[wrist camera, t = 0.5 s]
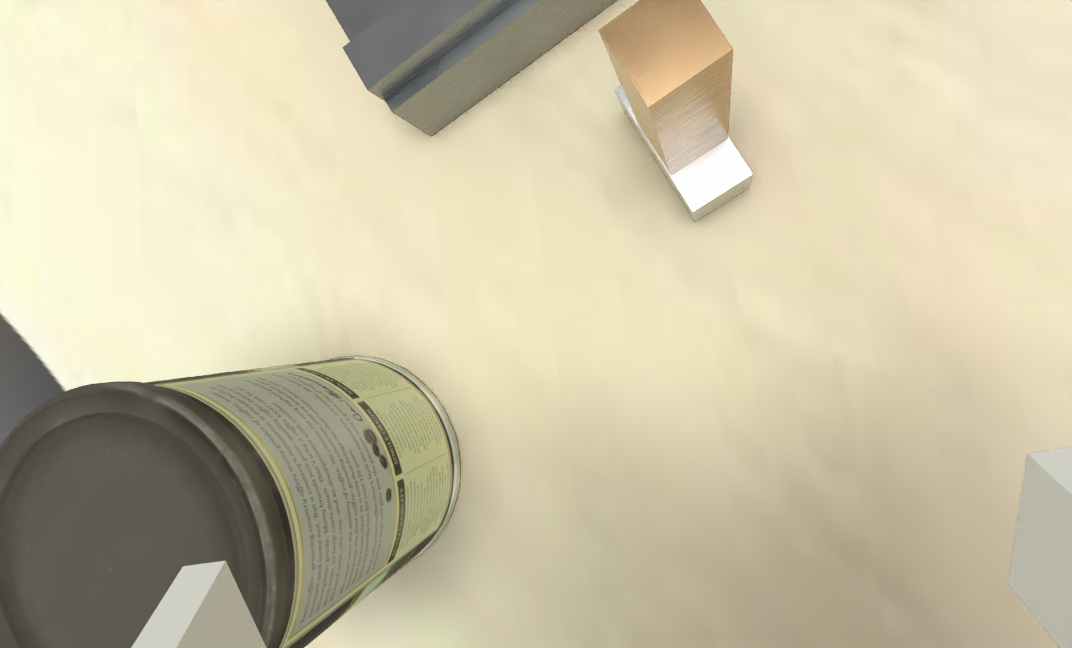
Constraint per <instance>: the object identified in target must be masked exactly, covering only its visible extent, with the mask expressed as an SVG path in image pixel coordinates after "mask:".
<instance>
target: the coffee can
mask: <svg viewBox="0 0 1072 648" xmlns="http://www.w3.org/2000/svg"><path fill="white" fill-rule="evenodd" d="M459 484H460V457H459V449H458V443H457V438H456V435H455V432H454V430H453V427H452V425H451V423H450V421H449V418H448V416H447V414H446V412H445V410H444V408H443V407H442V405H441V404H440V402H439V401H438V400H437V398H436V397H435V395H434V394H433V393H432V392H431V391H430V390H429V389H428V388H427V387H426V386H425V385H424V384H423V383H422V382H421V381H420V380H419V379H418V378H416V377H415V376H413V375H412V374H410V373H409V372H408V371H407V370H405V369H404V368H402V367H400V366H397V365H394V364H392V363H390V362H388V361H385V360H381V359H378V358H374V357H367V356H345V357H339V358H335V359H330V360H327V361H319V362H310V363H303V364H294V365H284V366H276V367H268V368H258V369H251V370H242V371H235V372H225V373H218V374H211V375H203V376H195V377H186V378H178V379H170V380H163V381H154V382H147V383H141V382H108V383H98V384H90V385H85V386H81V387H78V388H74V389H71V390H68V391H66V392H63V393H61V394H59V395H56V396H55V397H53V398H51V399H50V400H48V401H46V402H44V403H43V404H41V405H40V406H38V407H37V408H35V409H34V410H33V411H31V412H30V413H29V414H27V415H26V416H25V417H24V418H23V419H22V420H21V421H20V422H19V423H18V425H16V426H15V427H14V429H13V430H12V431H11V432H10V434H9V435H8V436H7V438H6V439H5V440H4V441H3V443H2V444H1V446H0V648H131V647H132V646H133V644H134V643H135V641H136V639H137V638H138V636H139V635H140V633H141V632H142V630H143V628H144V627H145V625H146V624H147V622H148V621H149V619H150V617H151V616H152V614H153V613H154V611H155V610H156V608H157V606H158V605H159V603H160V602H161V600H162V599H163V597H164V595H165V594H166V592H167V591H168V589H169V588H170V586H171V584H172V583H173V581H174V580H175V578H176V577H177V575H178V573H179V572H180V570H181V569H182V567H183V566H189V565H196V564H204V563H211V562H219V561H226V562H227V565H228V567H229V569H230V571H231V573H232V575H233V577H234V580H235V582H236V584H237V586H238V588H239V590H240V592H241V595H242V597H243V599H244V601H245V603H246V605H247V607H248V610H249V612H250V614H251V616H252V618H253V620H254V622H255V624H256V627H257V629H258V631H259V633H260V635H261V637H262V639H263V642H264V644H265V646H266V648H304V647H305V646H307V645H308V644H309V643H310V642H312V641H313V640H314V639H315V638H316V637H318V636H319V635H320V634H321V633H322V632H324V631H325V630H326V629H327V628H328V627H330V626H331V625H332V624H333V623H334V622H335V621H337V620H338V619H339V618H340V617H341V616H343V615H344V614H345V613H346V612H348V611H349V610H350V609H351V608H352V607H354V606H355V605H356V604H357V603H359V602H360V601H361V600H362V599H364V598H365V597H366V596H367V595H368V594H370V593H371V592H372V591H373V590H374V589H376V588H377V587H378V586H380V585H381V584H382V583H383V582H385V581H386V580H387V579H388V578H389V577H391V576H392V575H393V574H395V573H396V572H397V571H398V570H399V569H401V568H402V567H403V566H404V565H405V564H407V563H408V562H409V561H411V560H413V559H414V558H416V557H417V556H419V555H420V554H421V553H422V552H424V551H425V550H426V549H427V548H428V547H429V546H430V545H431V544H432V543H433V542H434V541H435V540H436V539H437V537H438V536H439V535H440V533H441V532H442V531H443V529H444V527H445V526H446V525H447V523H448V521H449V519H450V517H451V515H452V512H453V509H454V506H455V503H456V499H457V496H458V490H459Z"/></svg>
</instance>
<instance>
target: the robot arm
mask: <svg viewBox="0 0 1072 648" xmlns="http://www.w3.org/2000/svg"><path fill="white" fill-rule="evenodd" d="M1008 585H1009V586H1010V588H1011V589H1012V590H1013V591H1014V593H1015V594H1016V595H1017V596H1018V598H1019V599H1020V600H1021V601H1022V603H1023V604H1024V605H1025V606H1026V607H1027V609H1028V610H1029V611H1030V612H1031V614H1032V615H1033V616H1034V617H1035V619H1036V620H1037V621H1038V622H1039V624H1040V625H1041V626H1042V627H1043V629H1044V630H1045V631H1046V632H1047V633H1048V635H1049V636H1050V637H1051V638H1052V640H1053V641H1054V642H1055V643H1056V645H1057V646H1058V647H1059V648H1072V447H1069V448H1062V449H1055V450H1047V451H1040V452H1032V453H1027V456H1026V463H1025V470H1024V477H1023V484H1022V491H1021V498H1020V505H1019V512H1018V519H1017V526H1016V533H1015V540H1014V547H1013V554H1012V561H1011V568H1010V575H1009V582H1008ZM131 648H266V646H265V644H264V642H263V639H262V637H261V635H260V633H259V631H258V629H257V627H256V624H255V622H254V620H253V618H252V616H251V614H250V612H249V610H248V607H247V605H246V603H245V601H244V599H243V597H242V595H241V592H240V590H239V588H238V586H237V584H236V582H235V580H234V577H233V575H232V573H231V571H230V569H229V567H228V565H227V562H226V561H219V562H211V563H204V564H196V565H189V566H183V567H182V569H181V570H180V572H179V573H178V575H177V577H176V578H175V580H174V581H173V583H172V584H171V586H170V588H169V589H168V591H167V592H166V594H165V595H164V597H163V599H162V600H161V602H160V603H159V605H158V606H157V608H156V610H155V611H154V613H153V614H152V616H151V617H150V619H149V621H148V622H147V624H146V625H145V627H144V628H143V630H142V632H141V633H140V635H139V636H138V638H137V639H136V641H135V643H134V644H133V646H132V647H131Z"/></svg>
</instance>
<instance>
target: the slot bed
mask: <svg viewBox="0 0 1072 648" xmlns="http://www.w3.org/2000/svg"><path fill="white" fill-rule="evenodd" d="M326 1H327V3H328V5H329V6H330V8H331V10H332V11H333V13H334V15H335V16H336V18H337V20H338V22H339V23H340V25H341V27H342V28H343V30H344V32H345V33H346V35H347V37H348V38H349V40H350V42H349V43H348V44H347V45H345V46H344V47H343V49H344V51H345V52H346V54H347V56H348V58H349V59H350V61H351V63H352V64H353V66H354V68H355V69H356V71H357V73H358V75H359V76H360V78H361V80H362V81H363V83H364V85H365V86H366V88H367V90H368V91H370V92H371V93H373V94H375V95H376V96H378V97H379V98H381V99H382V100H384V101H386V103H387V104H388V106H389V108H390V110H391V111H392V112H393V113H395V114H396V115H398V116H399V117H401V118H403V119H404V120H406V121H407V122H409V123H411V124H412V125H414V126H416V127H417V128H419V129H420V130H422V131H424V132H425V133H427V134H429V135H430V136H433V135H434V134H435V133H437V132H438V131H440V130H441V129H442V128H444V127H445V126H446V125H448V124H449V123H450V122H452V121H453V120H455V119H456V118H457V117H459V116H460V115H461V114H463V113H464V112H465V111H467V110H468V109H469V108H471V107H472V106H474V105H475V104H476V103H478V102H479V101H480V100H482V99H483V98H484V97H486V96H487V95H489V94H490V93H491V92H493V91H494V90H495V89H497V88H498V87H499V86H501V85H502V84H503V83H505V82H506V81H508V80H509V79H510V78H512V77H513V76H514V75H516V74H517V73H518V72H520V71H521V70H523V69H524V68H525V67H527V66H528V65H529V64H531V63H532V62H533V61H535V60H536V59H537V58H539V57H540V56H542V55H543V54H544V53H546V52H547V51H548V50H550V49H551V48H552V47H554V46H555V45H557V44H558V43H559V42H561V41H562V40H563V39H565V38H566V37H567V36H569V35H570V34H572V33H573V32H574V31H576V30H577V29H578V28H580V27H581V26H582V25H584V24H585V23H586V22H588V21H589V20H591V19H592V18H593V17H595V16H596V15H597V14H599V13H600V12H601V11H603V10H604V9H606V8H607V7H608V6H610V5H611V4H612V3H614V2H615V1H616V0H326Z"/></svg>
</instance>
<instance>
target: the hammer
mask: <svg viewBox="0 0 1072 648" xmlns="http://www.w3.org/2000/svg"><path fill="white" fill-rule="evenodd" d="M599 33H600V35H601V37H602V40H603V42H604V45H605V47H606V49H607V52H608V54H609V56H610V59H611V61H612V64H613V66H614V68H615V71H616V73H617V75H618V78H619V80H620V83H621V86H619V87H618V88H617V89H615V92H616V94H617V96H618V98H619V100H620V103H621V105H622V107H623V109H624V111H625V113H626V114H627V116H628V118H629V119H630V121H631V122H632V124H633V125H634V127H635V129H636V130H637V132H638V133H639V135H640V136H641V138H642V140H643V141H644V143H645V144H646V146H647V147H648V149H649V150H650V152H651V154H652V155H653V157H654V158H655V160H656V161H657V163H658V165H659V166H660V168H661V169H662V171H663V172H664V174H665V176H666V177H667V179H668V180H669V182H670V183H671V185H672V186H673V188H674V190H675V191H676V193H677V194H678V196H679V197H680V199H681V201H682V202H683V204H684V205H685V207H686V208H687V210H688V211H689V213H690V215H691V216H692V218H693V219H694V221H695V222H696V221H698V220H699V219H701V218H703V217H704V216H706V215H707V214H709V213H711V212H712V211H714V210H715V209H717V208H718V207H720V206H722V205H723V204H725V203H726V202H728V201H729V200H731V199H733V198H734V197H736V196H737V195H739V194H741V193H742V192H744V191H745V190H747V189H748V188H749V186H750V183H751V179H752V175H753V174H752V172H751V171H750V169H749V167H748V166H747V164H746V163H745V161H744V160H743V158H742V157H741V155H740V154H739V152H738V151H737V149H736V148H735V146H734V145H733V143H732V142H731V140H730V139H729V137H728V127H729V110H730V93H731V76H732V59H733V48H732V47H731V45H730V44H729V42H728V41H727V39H726V38H725V36H724V35H723V33H722V32H721V30H720V29H719V27H718V26H717V24H716V23H715V21H714V20H713V18H712V17H711V15H710V14H709V12H708V11H707V9H706V8H705V6H704V5H703V3H702V2H701V0H639V1H638V2H637V3H635V4H634V5H633V6H631V7H630V8H629V9H627V10H626V11H624V12H623V13H622V14H620V15H619V16H618V17H616V18H615V19H613V20H612V21H611V22H609V23H608V24H607V25H605V26H604V27H602V28H601V29H600V30H599Z"/></svg>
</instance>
